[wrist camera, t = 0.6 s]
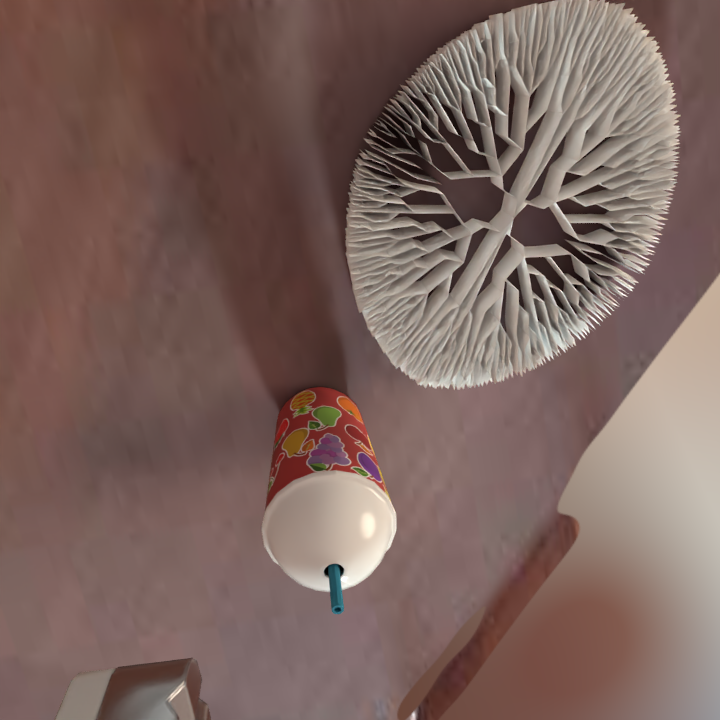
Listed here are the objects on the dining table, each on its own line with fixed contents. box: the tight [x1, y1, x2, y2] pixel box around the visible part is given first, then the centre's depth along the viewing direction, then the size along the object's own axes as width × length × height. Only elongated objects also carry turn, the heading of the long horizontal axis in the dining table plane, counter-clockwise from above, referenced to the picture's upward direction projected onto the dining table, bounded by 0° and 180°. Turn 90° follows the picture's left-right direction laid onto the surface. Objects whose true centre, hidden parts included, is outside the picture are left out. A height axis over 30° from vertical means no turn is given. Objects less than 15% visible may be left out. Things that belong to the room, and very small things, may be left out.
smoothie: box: [261, 387, 397, 614], centre depth 42 cm, size 8×8×20 cm
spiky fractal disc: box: [345, 0, 681, 390], centre depth 44 cm, size 22×28×3 cm
